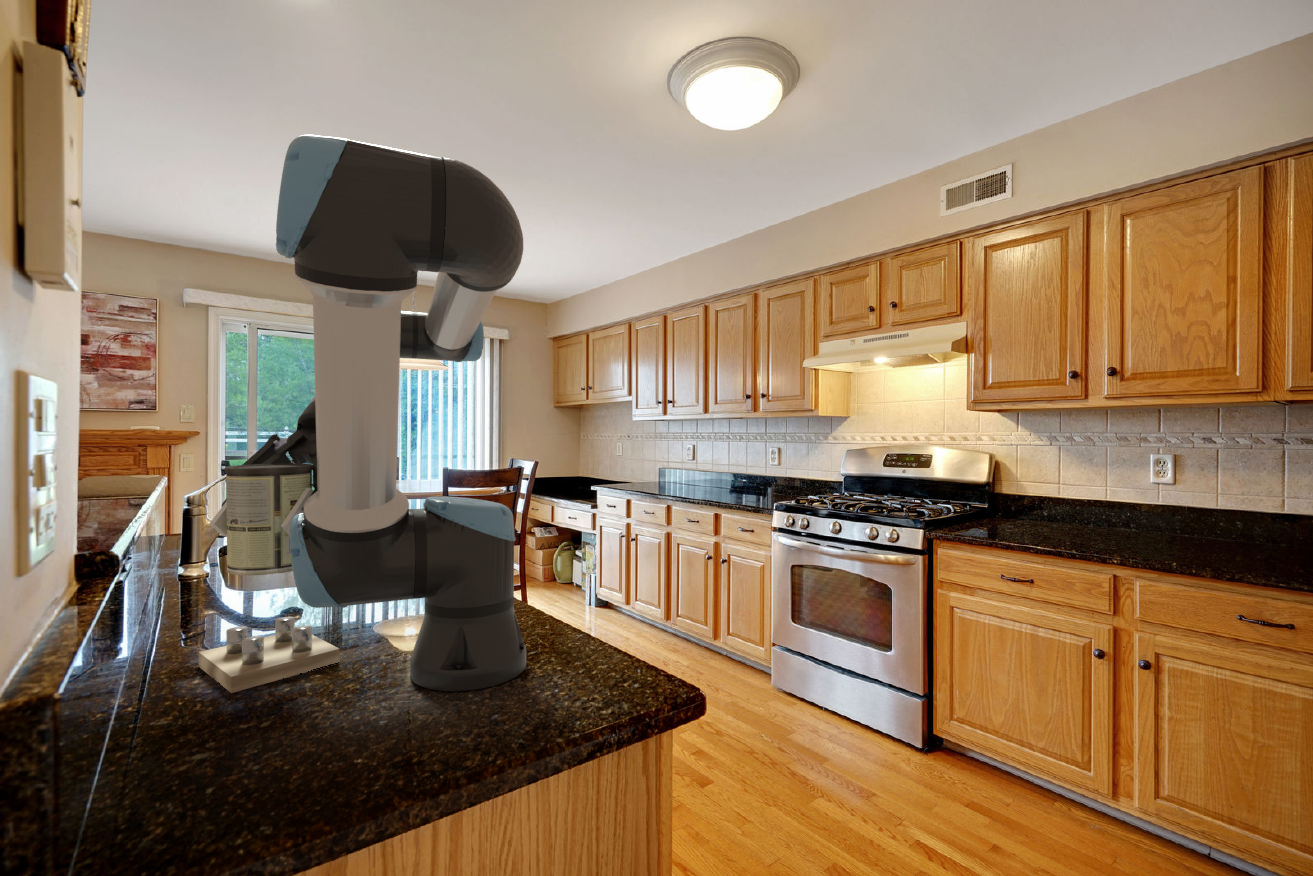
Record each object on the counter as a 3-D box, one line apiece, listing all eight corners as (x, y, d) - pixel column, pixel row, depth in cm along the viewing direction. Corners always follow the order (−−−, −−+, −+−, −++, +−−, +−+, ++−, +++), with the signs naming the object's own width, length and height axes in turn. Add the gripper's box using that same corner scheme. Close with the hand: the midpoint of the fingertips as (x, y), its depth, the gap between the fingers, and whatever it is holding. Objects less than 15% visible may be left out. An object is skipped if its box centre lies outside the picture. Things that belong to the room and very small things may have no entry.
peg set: (315, 649, 87) (315, 627, 87) (245, 666, 80) (245, 643, 80) (290, 636, 92) (290, 615, 92) (224, 651, 86) (223, 629, 86)
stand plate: (339, 663, 87) (339, 648, 87) (231, 693, 77) (231, 676, 77) (301, 642, 95) (301, 628, 95) (198, 666, 85) (198, 652, 85)
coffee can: (248, 560, 91) (247, 463, 90) (324, 558, 92) (324, 463, 92) (208, 577, 80) (208, 467, 80) (295, 574, 82) (295, 467, 82)
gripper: (408, 432, 99) (342, 550, 84) (282, 432, 103) (197, 544, 88) (388, 397, 94) (314, 516, 79) (256, 398, 98) (161, 511, 83)
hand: (252, 531), depth 83 cm, fingers closed on coffee can, 10 cm apart
